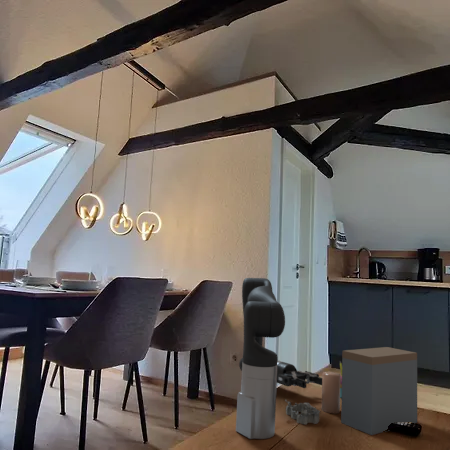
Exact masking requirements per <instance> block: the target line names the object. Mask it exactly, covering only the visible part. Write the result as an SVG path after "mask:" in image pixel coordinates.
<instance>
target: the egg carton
mask: <svg viewBox="0 0 450 450" xmlns="http://www.w3.org/2000/svg"><path fill="white" fill-rule="evenodd" d="M284 402H286V403H287V405H286V406H285V415H287V416H290V418H291V419H293V420H296V423H298V424H302V425H308V423H310V424H314V425H315V424H318V423H320V413H321V412H322V410H321V411H320V410H319V409H317V407H314V406H313V405H311V403H309V402H299V403H297V402H295V403H294V405H292V402H291V401H288V400H287V399H285V400H284ZM299 412H300V413H299Z"/></svg>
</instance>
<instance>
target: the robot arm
mask: <svg viewBox="0 0 450 450" xmlns="http://www.w3.org/2000/svg"><path fill="white" fill-rule="evenodd" d="M241 286H242V287H241V298H242V310H243V311H242V314H243V346H242V347H243V349H242V358H241V359H240V360H239V365H238V366H239V369H240V371H241V380H240V381H241V382H240V391H238V393H237V397H236V398H237V399H236V402H237V403H236V419H235V432H237V433H239V434H240V435H242V436H244V437H246V438H248V439H249V440H252V439H257V440H263V439H264V440H265V439H270V438H273V437H274V436H275V434H276V433H275V429H276V427H275V426H276V409H277V408H276V407H277V384H280V385H283V386H285V387H291V386H294V387H298V388H299V387H300V388H302V389H306V388H307V384H310V383H311V384H316V385H319V386H322V377H320V375H319V374H318V373H315V372H311V371H308V370H305V371H301V370H298V369H297V367H296V366H295V365H294V364H291V363H288V362H284V361H281V360H278V354H277V352H275V351H273V350H271V349H268V348H266V347H264V346H263V341H264V340H263V339H264V338H269V339H271V338H272V339H273V338H279V337H281V335H282V334H283V333H284V330H285V328H286V327H285V326H286V315H285V311H284V308H283V307H282V305H281V303H280V302H278V301H277V298H276V296H275V294H274V292H273V285H272V283H271V280H270V279H268V278H265V277H245V278H244V279H243V281H242V285H241Z"/></svg>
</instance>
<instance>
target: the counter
mask: <svg viewBox="0 0 450 450" xmlns="http://www.w3.org/2000/svg"><path fill="white" fill-rule="evenodd" d="M341 358H342V361H341V363H342V398H341V404H340V410H341V411H340V414H341V416H340V417H341V418H340V423H341V424H343V425H345V426H348V427H351V428H353V429H356V430H357V431H361V432H363V433H365V434H368V435H370V436H374V435H377V434H381V433H384V432H383V431H385V430H387V429H388V426H389V425H390V424H391V423H394V422H412V423H414V424H416V423H418V352H415V351H409V350H405V349H399V348H393V347H390V346H389V347H388V346H383V347H372V348H371V347H369V348H360V349H346V350H342V357H341ZM385 432H386V431H385Z"/></svg>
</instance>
